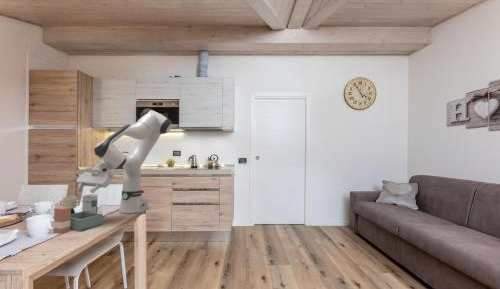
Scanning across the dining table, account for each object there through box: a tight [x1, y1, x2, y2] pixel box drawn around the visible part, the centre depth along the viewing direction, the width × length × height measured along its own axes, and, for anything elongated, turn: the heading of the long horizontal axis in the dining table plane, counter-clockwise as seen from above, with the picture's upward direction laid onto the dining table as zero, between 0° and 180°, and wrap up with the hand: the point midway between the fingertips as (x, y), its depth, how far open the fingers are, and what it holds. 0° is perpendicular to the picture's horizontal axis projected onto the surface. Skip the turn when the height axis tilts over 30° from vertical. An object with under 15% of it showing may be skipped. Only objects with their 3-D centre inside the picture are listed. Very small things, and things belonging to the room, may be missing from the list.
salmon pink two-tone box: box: [52, 206, 71, 234], centre depth 145 cm, size 5×5×12 cm
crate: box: [70, 211, 104, 232], centre depth 156 cm, size 14×14×6 cm
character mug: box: [59, 196, 81, 214], centre depth 169 cm, size 11×7×13 cm, turn 98°
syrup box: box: [81, 193, 99, 213], centre depth 172 cm, size 6×6×14 cm
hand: (85, 191), depth 158 cm, fingers open, 8 cm apart
